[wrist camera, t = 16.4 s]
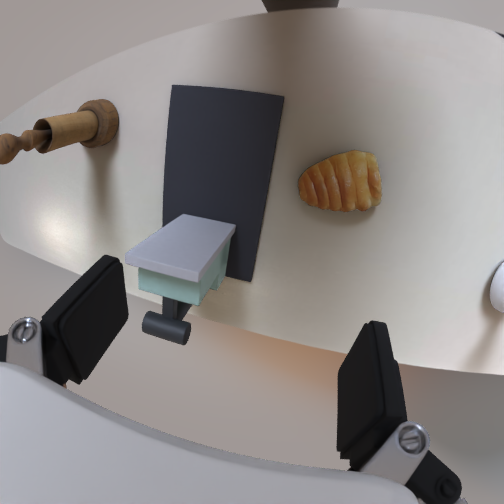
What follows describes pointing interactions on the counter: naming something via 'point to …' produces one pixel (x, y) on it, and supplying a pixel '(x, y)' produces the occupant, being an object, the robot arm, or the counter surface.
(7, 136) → the mortar and pestle
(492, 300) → the flower in vase
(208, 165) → the iron mat
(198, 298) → the iron
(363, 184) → the pastry
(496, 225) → the counter surface
